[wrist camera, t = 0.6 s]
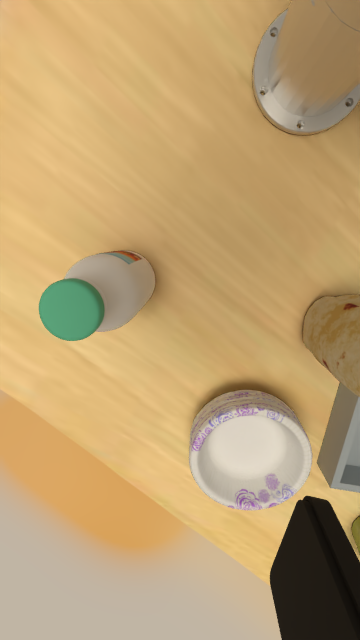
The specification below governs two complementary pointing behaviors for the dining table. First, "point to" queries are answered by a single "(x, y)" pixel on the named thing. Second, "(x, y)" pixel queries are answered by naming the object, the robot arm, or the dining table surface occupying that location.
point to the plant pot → (356, 532)
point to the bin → (342, 443)
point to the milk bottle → (97, 295)
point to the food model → (336, 337)
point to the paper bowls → (249, 450)
